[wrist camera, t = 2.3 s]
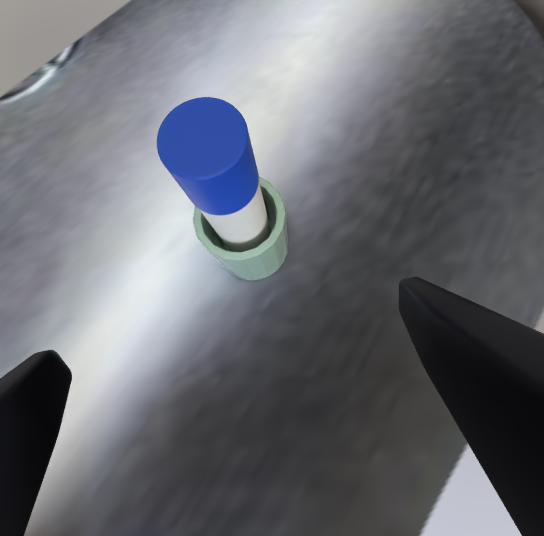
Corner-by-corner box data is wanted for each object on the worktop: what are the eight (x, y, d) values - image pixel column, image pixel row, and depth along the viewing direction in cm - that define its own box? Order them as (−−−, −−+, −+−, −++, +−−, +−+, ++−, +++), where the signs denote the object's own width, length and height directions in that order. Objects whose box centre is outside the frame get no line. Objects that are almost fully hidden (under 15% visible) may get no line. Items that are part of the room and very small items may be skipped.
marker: (283, 246, 21) (267, 139, 10) (248, 274, 21) (190, 197, 10) (255, 214, 22) (210, 79, 11) (221, 241, 22) (138, 133, 10)
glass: (302, 250, 22) (303, 219, 16) (247, 294, 21) (229, 278, 16) (258, 200, 23) (246, 156, 17) (205, 242, 22) (175, 210, 17)
